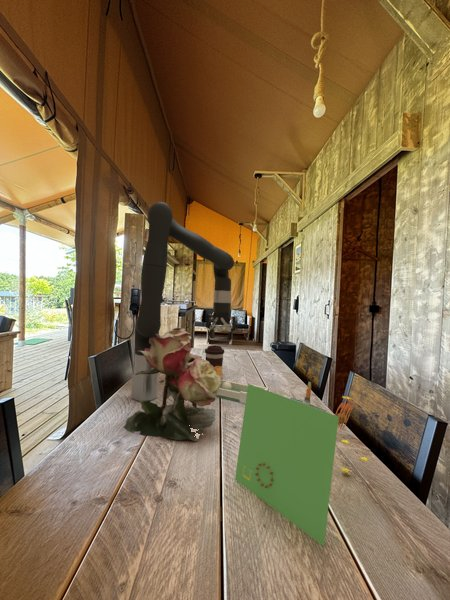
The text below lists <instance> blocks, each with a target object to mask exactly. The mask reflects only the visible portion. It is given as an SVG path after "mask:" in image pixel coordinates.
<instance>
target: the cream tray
mask: <svg viewBox="0 0 450 600" xmlns="http://www.w3.org/2000/svg"><path fill="white" fill-rule="evenodd" d="M224 382H229V383H230V384H231V386H232V387H231V390H227V389H222V387H221V388H219V390H218V393H217V395H216V398H221V399H223V400H229V401H233V402H238V403H242V404H245V403H246V396H247V389H248V384H244V383H239V382H235V381H230V380H224V379H222V384H223V383H224ZM252 385H253V386H256V387H259V388H261V389H264V390H267V391H270V388H269V387H266V386H260V385H255V384H252Z"/></svg>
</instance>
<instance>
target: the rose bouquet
mask: <svg viewBox="0 0 450 600" xmlns="http://www.w3.org/2000/svg"><path fill="white" fill-rule="evenodd" d="M190 335H191V333H190V332H187V331H186V328H184V327H180V326H179V327H175V328H172V329H171V330H167V331H165V332H164V333H163V335H160V333H159V334H156V336H157V337H153V338H150V339H149V343H150V344H151V345H152V346H151V347H150V348H151V349H145V351H142V350H138V352H142V353H143V354H144V355H145V358H146V361H147V362H148V363H149V364H150V365H151V367H152V368H154V369H153V370H150V371H141V372H138V373H136V374H135V375H138V374H156V373H158V374H162V375H165V377H164V379H160V380H158V383H160V384H161V383H164V387H163V390H162V405H161V406H158V403H155V402H152V401H151V400H148V399H147V400H144V399H142V400H141V401H139V403H140V405H141V409H142V410H143V411H140V410H137V411H135V412H134V414H132V415H131V416H129V417H127V418H126V421H125V424H124V426H123V429H124V430H126V431H127V432H128V433H132V434H137V435H138V433H136V432H139V435H141V436H148V437H155V438H158V437H164V438H167V439H170V440H176V441H186V440H191V441H193V442H198V441H199V440H197V438H196V436H195V434H196V433H198V434H202V433H203V434H205V431H204V428H206V427H209V426H212V425H213V423H214V422H215V421H214V420H215V416H216V414H215V413H216V409H214V408H206V406H209V405H211V404H212V403H214V402H216V398H217V397H216V395H217V393H218V390H219V388H220V385H221V380H223V376H222V377H221V376H219V375H217V373H216V371H214V367H213V366H212V365H211V364H210V362H209V361H207V360H206V359H205V358H204V359H203V357H202V356H200V355H197V354H193V353H190V352H191V350H192V348H193V347H192V346H190V344H191V341H192V336H190ZM170 396H171V398H172V399H173V403H172V404H168V403H167V400H168V399H169V398H170ZM187 401H189V402H190V403H191V405H192V407H185V403H186V402H187ZM197 406H198V407H197ZM189 425H190V426H189ZM190 428H193V429H197V430H198V429H199V430H198V431H196V433H195V432H191V429H190ZM194 436H195V437H194Z"/></svg>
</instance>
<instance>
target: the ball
mask: <svg viewBox="0 0 450 600" xmlns="http://www.w3.org/2000/svg"><path fill="white" fill-rule="evenodd" d="M231 387H232V386H231V384H230V383H229V382H224V383H223V384H222V389H227V390H231Z"/></svg>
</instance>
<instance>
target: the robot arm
mask: <svg viewBox="0 0 450 600" xmlns="http://www.w3.org/2000/svg"><path fill="white" fill-rule="evenodd" d="M173 216H174V215H173V210H172V209H171V207H170V206H169V204H168V203H166V202H163V201H158V202H155V203H153V204H152V205H151V206H150V207H149V209H148V212H147V216H146V218H147V219H146V220H147V223H148V238H147V243H146V246H145V250H144V252H143V253H144V254H143V258H142V262H141V263H142V265H141V273H140V293H141V300H140V301H141V302H140V307H139V312H138V316H137V318H136V319H135V325H134V326H135V327H134V363H133V364H134V366H133V373H132V374H131V393H130V395H131V397H130V398H131V400H134V401H137V402H138V401H139V402H140V401H141V400H142V399H144V400H147V399H148V400H149V401H153V400H155V399H157V398H158V394H159V393H158V389H159V373H156V374H138V375H135V374H136V373H138V372H141V371H150V370H153V369H154V368H152V367H151V365H150V364H149V363H148V362H147V361H146V358H145V355H144V354H143V353H142V352H138V350H142V351H145V349H151V348H150V347H151V346H152V345H151V344H150V343H149V339H150V338H153V337H157V336H156V334H159V335H160V329H161V328H162V319H161V318H162V317H161V316H162V315H161V310H162V299H163V295H164V289H165V284H166V277H167V269H168V253H169V251H168V249H169V248H168V246H169V244H168V243H169V237H171V238H172V239H174V240H176V241H177V242H179V243H180V244H181V245H183V246H185V247H186V248H188V249H189V250H191V251H192V252H193V253H194V254H196V255H197V256H199V257H201V258H202V259H203V260H204V261H205V260H206V261H210V262H211V263H213V265H212V266H213V276H214V277H213V278H214V291H213V301H212V302H213V306H212V307H213V309H212V310H213V311H212V313H213V314H211V313H208V314H206V320H205V328H206V329H209V338H210V339H215V332H216V330H215V329H216V327H218V326H222V327H225V328H226V329H227V341H228V342H231V341H233V338H234V332H236V331H238V325H239V324H238V316H237V315H235V316H234V315H233V316H232V315H231V312H232V279H231V277H229V272H230V270H232V269H233V268H234V265H235V260H234V258H233V256H232V255H231V254H230V253H228V252H227V251H225V250H223V249H221V248H220V247H217V246H215V245H214V244H213V243H211V242H210V241H209V240H207V239H206V238H204V237H203V236H201V235H200V234H198V233H196V232H194V231H192V230H190V229H188V228H186V227H184V226H182V225H181V224H180V223H178V221H176V220H175V219H174V218H173ZM212 320H213V322H212Z"/></svg>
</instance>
